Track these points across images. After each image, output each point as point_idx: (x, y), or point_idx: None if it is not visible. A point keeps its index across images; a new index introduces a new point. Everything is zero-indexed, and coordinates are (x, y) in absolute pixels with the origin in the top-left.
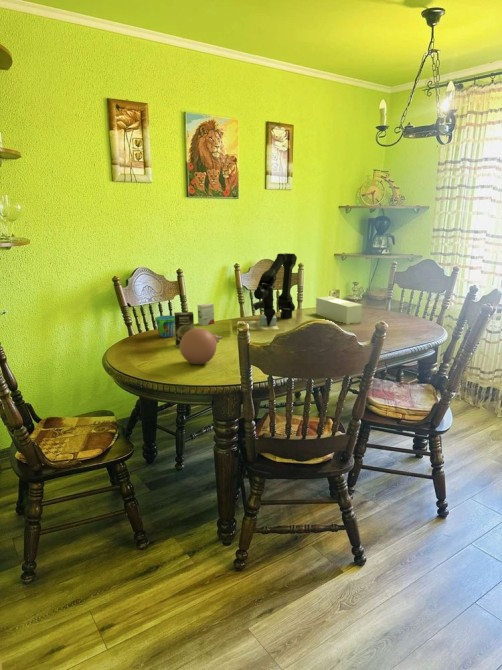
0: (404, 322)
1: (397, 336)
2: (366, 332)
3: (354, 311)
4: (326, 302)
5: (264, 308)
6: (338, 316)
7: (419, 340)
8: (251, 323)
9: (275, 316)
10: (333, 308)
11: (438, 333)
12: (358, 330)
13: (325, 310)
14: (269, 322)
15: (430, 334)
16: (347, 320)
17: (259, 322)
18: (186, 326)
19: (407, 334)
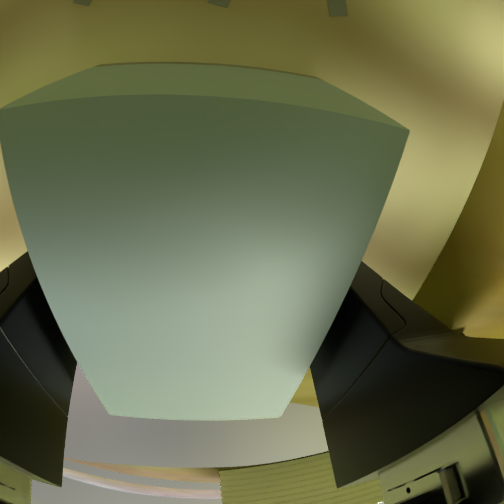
0: (219, 493)
1: (85, 475)
2: (110, 470)
3: None
4: (366, 499)
5: (483, 484)
6: (272, 482)
7: (65, 474)
8: None
9: (222, 418)
10: (312, 498)
11: (126, 491)
12: (131, 470)
13: None
14: None
15: (116, 488)
16: (221, 484)
17: (413, 110)
18: None
19: (108, 482)
